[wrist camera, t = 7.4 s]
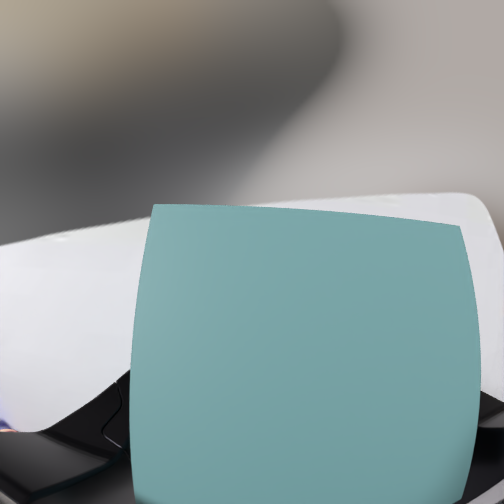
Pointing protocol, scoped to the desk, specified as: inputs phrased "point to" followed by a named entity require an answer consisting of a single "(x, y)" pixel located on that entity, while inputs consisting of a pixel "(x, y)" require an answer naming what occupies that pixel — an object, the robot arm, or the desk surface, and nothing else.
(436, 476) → the tea box
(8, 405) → the desk surface
